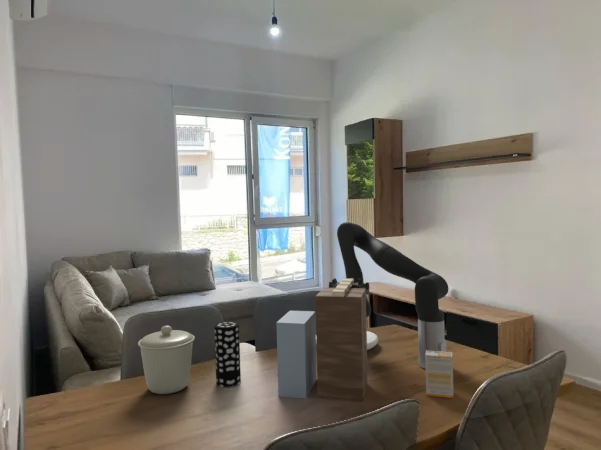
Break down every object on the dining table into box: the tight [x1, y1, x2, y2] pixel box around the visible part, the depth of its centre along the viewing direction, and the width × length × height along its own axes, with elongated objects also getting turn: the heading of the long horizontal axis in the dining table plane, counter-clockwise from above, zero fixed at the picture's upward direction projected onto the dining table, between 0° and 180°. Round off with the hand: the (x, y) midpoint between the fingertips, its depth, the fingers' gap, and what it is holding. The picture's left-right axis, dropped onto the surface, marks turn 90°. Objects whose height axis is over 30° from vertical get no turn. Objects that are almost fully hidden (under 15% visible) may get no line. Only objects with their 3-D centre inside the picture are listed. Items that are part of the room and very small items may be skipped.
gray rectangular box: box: [275, 310, 317, 399], centre depth 149 cm, size 16×9×24 cm, turn 166°
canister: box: [137, 325, 195, 395], centre depth 151 cm, size 18×18×21 cm
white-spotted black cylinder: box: [213, 320, 242, 388], centre depth 155 cm, size 8×8×20 cm
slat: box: [332, 277, 354, 297], centre depth 149 cm, size 24×4×2 cm, turn 166°
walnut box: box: [315, 287, 368, 403], centre depth 145 cm, size 14×14×32 cm
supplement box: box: [424, 350, 454, 399], centre depth 141 cm, size 8×5×13 cm, turn 71°
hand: (346, 281), depth 156 cm, fingers open, 8 cm apart
